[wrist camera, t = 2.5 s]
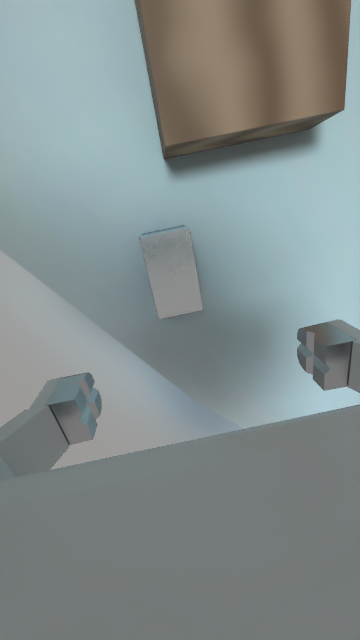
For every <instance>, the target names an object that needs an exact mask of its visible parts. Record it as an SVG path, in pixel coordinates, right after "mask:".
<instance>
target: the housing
mask: <svg viewBox="0 0 360 640" xmlns="http://www.w3.org/2000/svg"><path fill="white" fill-rule="evenodd" d="M139 240H140V244H141V248H142V252H143V256H144V260H145V264H146V268H147V272H148V276H149V281H150V285H151V289H152V293H153V297H154V301H155V305H156V309H157V313H158V317H159V319H162V318H167V317H172V316H177V315H182V314H186V313H191V312H196V311H201V310H203V306H202V300H201V294H200V288H199V281H198V275H197V269H196V263H195V257H194V251H193V244H192V238H191V232H190V228H189V227H186V226H184V225H182V226H177V227H172V228H168V229H163V230H158V231H153V232H148V233H143V234H142V235H141V237H140V238H139Z"/></svg>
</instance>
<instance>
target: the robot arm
mask: <svg viewBox="0 0 360 640" xmlns="http://www.w3.org/2000/svg"><path fill="white" fill-rule="evenodd" d="M297 339H298V340H299V341H300V342H301V344H300V345H299V347H298V348H297V356H298V360H299V363H300V365H301V366H302V368H303V369H304V370H305V371H306V372H308V373H311V374H313V380H314V381H315V382H316V383H317V384H318V385H319V386H320V387H321V388H322V389H323V390H324V391H325V390H330V389H336V388H341V387H347V386H348V388H351V389H353V390H355V391H357V392H359V393H360V330H358V329H357V328H355V327H353V326H351V325H350V324H348V323H346V322H344V321H342V320H333V321H329V322H325V323H321V324H317V325H312V326H308V327H304V328H300V329H298V332H297ZM93 384H94V379H93V377H92V375H91V374H90V373H83V374H78V375H73V376H68V377H63V378H62V377H61V378H57V379H53V380H50V381H48V382H47V383H46V384H45V386H44V387H43V389H42V390H41V392H40V393H39V395H38V397H37V398H36V400H35V401H34V403H33V404H32V405H31V407H30V408H29V410H24V411H23V412H22V413H20V414H19V415H17V416H16V417H14V418H13V419H12V420H10V421H9V422H7V423H6V424H5V425H3V426H2V427H1V428H0V640H360V405H355V406H351V407H346V408H341V409H336V410H332V411H327V412H322V413H318V414H313V415H308V416H303V417H299V418H294V419H289V420H285V421H280V422H275V423H270V424H266V425H261V426H256V427H251V428H247V429H242V430H238V431H233V432H228V433H223V434H219V435H214V436H209V437H204V438H199V439H195V440H190V441H185V442H181V443H176V444H171V445H166V446H162V447H157V448H152V449H147V450H143V451H138V452H133V453H128V454H125V455H119V456H114V457H110V458H105V459H100V460H95V461H91V462H86V463H82V464H77V465H72V466H67V467H63V468H58V469H53V470H50V469H51V468H52V466H54V464H55V463H56V462H57V461H58V459H59V458H60V457H61V456H62V455H63V453H64V452H65V451H66V450H67V449H68V447H69V445H71V444H76V443H80V442H84V441H88V440H93V438H94V434H95V431H96V428H97V422H96V419H97V418H98V417H99V416H100V413H101V408H102V407H101V405H102V403H101V397H100V394H99V391H98V390H96V389H95V388H93Z"/></svg>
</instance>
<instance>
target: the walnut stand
mask: <svg viewBox="0 0 360 640" xmlns="http://www.w3.org/2000/svg"><path fill="white" fill-rule="evenodd" d="M135 4H136V10H137V15H138V21H139V26H140V32H141V37H142V43H143V48H144V53H145V59H146V64H147V70H148V75H149V81H150V86H151V92H152V97H153V103H154V108H155V114H156V119H157V124H158V130H159V135H160V141H161V146H162V152H163V157H164V159H166V158H170V157H175V156H180V155H185V154H190V153H195V152H200V151H204V150H209V149H214V148H219V147H224V146H229V145H234V144H239V143H243V142H248V141H253V140H258V139H263V138H268V137H273V136H277V135H282V134H287V133H292V132H297V131H302V130H307V129H310V128H312V127H314V126H316V125H318V124H319V123H321V122H323V121H325V120H326V119H328V118H330V117H332V116H334V115H335V114H337V113H339V112H341V111H343V110H344V105H345V90H346V74H347V58H348V42H349V26H350V10H351V0H135Z"/></svg>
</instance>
